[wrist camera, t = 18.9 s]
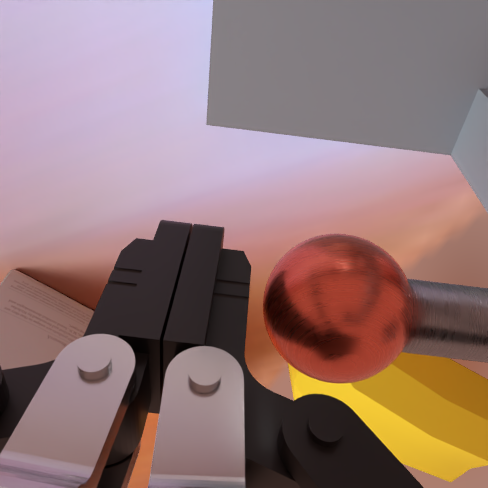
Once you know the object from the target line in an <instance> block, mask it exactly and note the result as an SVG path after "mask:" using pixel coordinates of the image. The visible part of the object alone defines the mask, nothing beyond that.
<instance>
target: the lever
mask: <svg viewBox="0 0 488 488" xmlns="http://www.w3.org/2000/svg"><path fill="white" fill-rule="evenodd" d="M263 314H264V321H265V325H266V329H267V332H268V335H269V337H270V339H271V341H272V343H273V345H274V346H275V348H276V349H277V351H278V352H279V354H280V355H281V356H282V357H283V358H284V359H285V360H286V361H287V362H288V363H289V364H290V365H291V366H292V367H294V368H295V369H296V370H298V371H299V372H301V373H303V374H304V375H306V376H309V377H311V378H314V379H316V380H319V381H323V382H328V383H353V382H358V381H362V380H365V379H368V378H370V377H373V376H374V375H376V374H378V373H380V372H381V371H383V370H384V369H386V368H387V367H388V366H389V365H390V364H392V363H393V362H394V361H395V360H396V358H397V357H398V356H399V355H400V353H401V352H403V353H412V354H420V355H429V356H437V357H446V358H454V359H462V360H471V361H480V362H488V288H480V287H471V286H463V285H455V284H446V283H438V282H430V281H422V280H414V279H407V278H406V275H405V274H404V272H403V271H402V269H401V268H400V266H399V265H398V263H397V262H396V261H395V260H394V259H393V258H392V257H391V256H390V255H389V254H388V253H387V252H386V251H384V250H383V249H382V248H380V247H379V246H377V245H375V244H374V243H372V242H370V241H368V240H365V239H363V238H360V237H356V236H352V235H346V234H327V235H321V236H317V237H313V238H311V239H308V240H306V241H304V242H302V243H300V244H298V245H297V246H295V247H293V248H292V249H291V250H290V251H288V252H287V253H286V254H285V255H284V256H283V257H282V258H281V259H280V261H279V262H278V263H277V264H276V266H275V267H274V269H273V271H272V272H271V274H270V277H269V279H268V282H267V284H266V288H265V292H264V299H263Z"/></svg>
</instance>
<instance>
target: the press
mask: <svg viewBox="0 0 488 488" xmlns="http://www.w3.org/2000/svg"><path fill="white" fill-rule="evenodd" d="M207 125H212V126H220V127H228V128H236V129H245V130H253V131H261V132H269V133H277V134H285V135H293V136H301V137H309V138H317V139H325V140H333V141H341V142H349V143H357V144H365V145H373V146H381V147H389V148H397V149H405V150H413V151H421V152H429V153H437V154H445V155H451V156H452V158H453V160H454V161H455V163H456V164H457V166H458V167H459V169H460V171H461V172H462V174H463V175H464V177H465V178H466V180H467V181H468V183H469V185H470V186H471V188H472V189H473V191H474V192H475V194H476V196H477V197H478V199H479V200H480V202H481V203H482V205H483V206H484V208H485V210H486V211H487V213H488V0H213V16H212V35H211V53H210V71H209V89H208V107H207Z"/></svg>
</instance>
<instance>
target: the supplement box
mask: <svg viewBox="0 0 488 488" xmlns="http://www.w3.org/2000/svg"><path fill="white" fill-rule="evenodd" d="M93 313H94V311H93V310H91V309H89V308H87V307H85V306H83V305H81V304H80V303H78V302H76V301H74V300H72V299H70V298H68V297H67V296H65V295H63V294H61V293H59V292H58V291H56V290H54V289H52V288H50V287H48V286H46V285H44V284H42V283H40V282H38V281H36V280H35V279H33V278H31V277H29V276H27V275H25V274H23V273H21V272H19V271H17V270H11V271H10V272H9V273H8V274H7V276H6V277H5V279H4V280H3V281H2V283H1V284H0V366H1V369H2V370H5V369H12V368H18V367H24V366H31V365H37V364H42V363H46V362H49V361H52V360H54V359H56V358H57V356H58V355H59V353H60V352H61V351H62V350H63V349H64V348H65V347H66V346H67V345H69V344H70V343H72V342H73V341H75V340H77V339H79V338H82V337H83V335H84V334H85V331H86V329H87V327H88V325H89V322H90V320H91V318H92V316H93Z"/></svg>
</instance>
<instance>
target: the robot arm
mask: <svg viewBox="0 0 488 488" xmlns="http://www.w3.org/2000/svg"><path fill="white" fill-rule="evenodd" d="M223 239H224V227H216V226H208V225H200V224H194V225H193V226H192V224H190V223H182V222H174V221H166V220H161V221H160V223H159V226H158V229H157V231H156V234H155V237H154V240H146V239H138V238H136V239H135V240H134V241H133V242H131V243H130V244H129V245H128V246H127V247H125V248H124V249H123V250H122V251H121V253H120V255H119V257H118V260H117V262H116V264H115V266H114V270H113V271H112V273H111V275H110V278H109V280H108V284H106V286H105V289H104V291H103V293H102V295H101V298H100V300H99V302H98V304H97V307H96V309H95V311H94V313H93V316H92V318H91V320H90V322H89V325H88V327H87V329H86V331H85V334H84V335H83V337H82V338H79V339H77V340H75V341H73V342H72V343H70V344H69V345H67V346H66V347H65V348H64V349H63V350H62V351H61V352H60V353H59V355H58V356H57V358H56V359H54V360H52V361H49V362H46V363H42V364H37V365H31V366H24V367H18V368H12V369H5V370H2V369H1V366H0V488H127V486H128V483H129V480H130V477H131V474H132V471H133V468H134V465H135V462H136V459H137V456H138V453H139V450H140V444H141V437H142V434H143V430H144V426H145V422H146V418H147V414H148V412H149V413H158V414H159V420H158V426H157V433H156V440H155V447H154V453H153V460H152V467H151V474H150V480H149V485H148V488H423V487H422V485H421V484H420V483H419V482H418V481H417V480H416V479H415V478H414V477H413V475H412V474H411V473H410V472H409V471H408V470H407V469H406V468H405V467H404V466H403V464H402V463H401V462H400V461H399V460H398V459H397V458H396V457H395V456H394V455H393V453H392V452H391V451H390V450H389V449H388V448H387V447H386V446H385V445H384V444H383V443H382V441H381V440H380V439H379V438H378V437H377V436H376V435H375V434H374V433H373V432H372V430H371V429H370V428H369V427H368V426H367V425H366V424H365V423H364V422H363V421H362V419H361V418H360V417H359V416H358V415H357V414H356V413H355V412H354V411H353V410H352V409H351V408H350V407H349V406H348V405H346V404H345V403H344V402H342V401H340V400H339V399H337V398H334V397H332V396H329V395H324V394H308V395H304V396H302V397H299V398H297V399H296V400H295V401H293V400H290V399H288V398H286V397H283V396H281V395H279V394H277V393H274V392H272V391H270V390H268V389H266V388H265V387H264V386H262V385H261V384H260V383H259V382H257V381H256V380H255V378H254V377H253V376H252V375H251V373H250V372H249V370H248V368H247V365H246V362H245V357H244V351H245V338H246V326H247V313H248V299H249V288H250V287H249V286H250V275H251V265H250V263H249V261H248V259H247V257H246V255H245V253H244V251H238V250H230V249H223Z"/></svg>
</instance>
